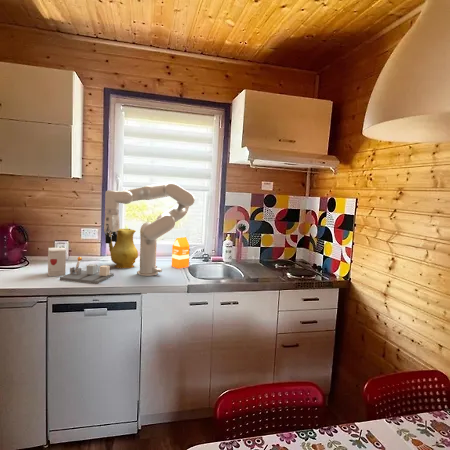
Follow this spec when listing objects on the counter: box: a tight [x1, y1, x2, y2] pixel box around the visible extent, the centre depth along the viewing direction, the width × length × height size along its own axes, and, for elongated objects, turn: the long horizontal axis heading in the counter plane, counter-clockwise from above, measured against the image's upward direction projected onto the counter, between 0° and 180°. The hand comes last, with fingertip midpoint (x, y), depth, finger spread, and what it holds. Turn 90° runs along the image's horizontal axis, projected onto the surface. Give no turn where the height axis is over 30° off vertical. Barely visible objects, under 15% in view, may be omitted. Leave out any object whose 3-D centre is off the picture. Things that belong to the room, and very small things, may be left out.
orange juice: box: [171, 236, 190, 269], centre depth 232 cm, size 8×9×20 cm
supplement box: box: [47, 247, 67, 277], centre depth 197 cm, size 9×9×15 cm
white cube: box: [85, 263, 98, 275], centre depth 196 cm, size 4×4×5 cm
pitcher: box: [108, 228, 139, 269], centre depth 225 cm, size 17×19×25 cm
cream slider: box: [99, 264, 111, 276], centre depth 195 cm, size 4×4×5 cm
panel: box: [59, 266, 115, 285], centre depth 193 cm, size 22×18×5 cm
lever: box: [73, 256, 83, 273], centre depth 196 cm, size 2×2×9 cm
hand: (111, 242), depth 200 cm, fingers open, 6 cm apart
